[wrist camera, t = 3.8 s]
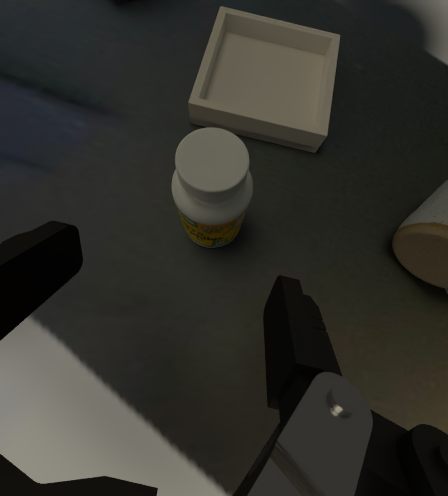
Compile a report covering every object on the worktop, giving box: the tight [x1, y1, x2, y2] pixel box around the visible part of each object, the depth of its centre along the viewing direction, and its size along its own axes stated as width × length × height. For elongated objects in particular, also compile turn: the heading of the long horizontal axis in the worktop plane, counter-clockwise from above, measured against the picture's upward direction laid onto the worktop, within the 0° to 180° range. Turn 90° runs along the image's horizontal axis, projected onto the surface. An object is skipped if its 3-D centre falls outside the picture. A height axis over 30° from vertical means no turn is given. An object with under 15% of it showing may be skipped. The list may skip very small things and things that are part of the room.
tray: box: [188, 6, 340, 153], centre depth 24 cm, size 14×14×2 cm
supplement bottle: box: [172, 127, 253, 248], centre depth 16 cm, size 5×5×10 cm
